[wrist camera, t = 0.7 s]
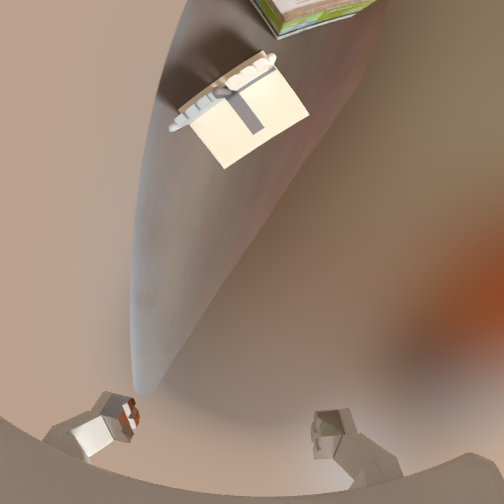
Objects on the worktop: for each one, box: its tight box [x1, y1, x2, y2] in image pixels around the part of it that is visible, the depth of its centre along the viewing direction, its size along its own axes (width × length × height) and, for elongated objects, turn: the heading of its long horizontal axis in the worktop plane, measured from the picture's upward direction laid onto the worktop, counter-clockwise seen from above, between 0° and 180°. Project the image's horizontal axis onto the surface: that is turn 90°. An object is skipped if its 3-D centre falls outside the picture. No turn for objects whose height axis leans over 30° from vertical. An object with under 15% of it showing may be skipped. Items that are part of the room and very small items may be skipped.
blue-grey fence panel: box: [168, 92, 225, 132], centre depth 38 cm, size 8×1×11 cm, turn 125°
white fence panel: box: [213, 53, 276, 95], centre depth 34 cm, size 1×9×13 cm, turn 125°
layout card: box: [178, 51, 309, 169], centre depth 43 cm, size 14×18×1 cm
